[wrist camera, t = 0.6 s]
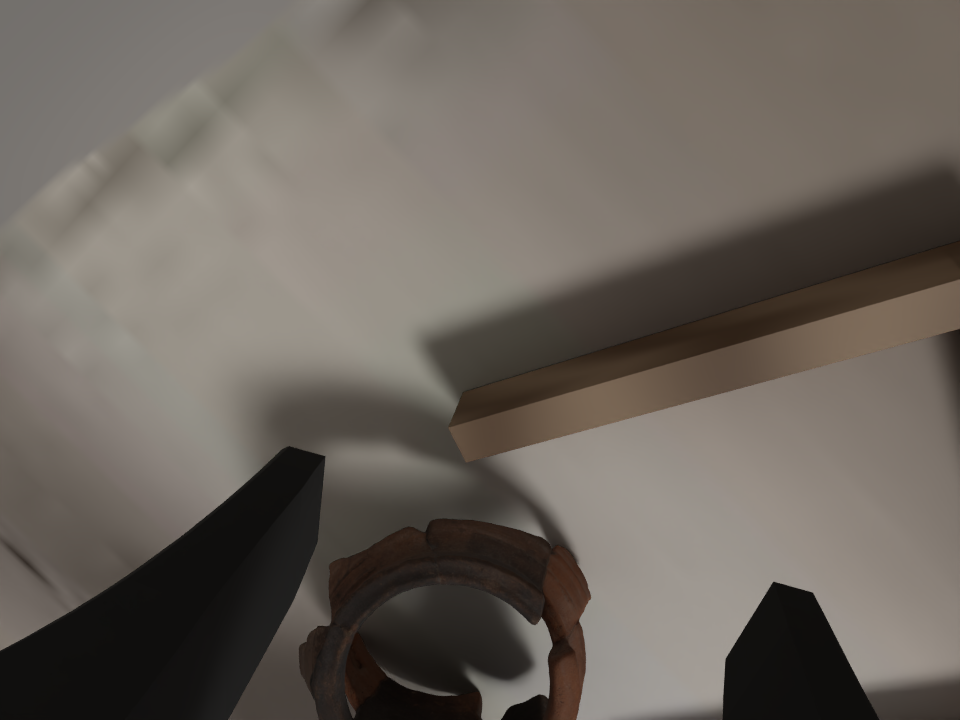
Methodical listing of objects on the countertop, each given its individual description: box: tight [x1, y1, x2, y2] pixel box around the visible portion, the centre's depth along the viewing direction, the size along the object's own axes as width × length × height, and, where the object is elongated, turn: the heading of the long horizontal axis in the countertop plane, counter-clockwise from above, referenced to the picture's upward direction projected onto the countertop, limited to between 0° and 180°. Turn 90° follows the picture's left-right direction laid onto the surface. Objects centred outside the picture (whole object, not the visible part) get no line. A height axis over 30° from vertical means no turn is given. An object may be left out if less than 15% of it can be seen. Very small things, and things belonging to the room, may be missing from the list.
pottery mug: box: [299, 519, 591, 720], centre depth 26 cm, size 12×10×8 cm
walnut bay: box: [448, 241, 960, 462], centre depth 24 cm, size 14×17×2 cm
